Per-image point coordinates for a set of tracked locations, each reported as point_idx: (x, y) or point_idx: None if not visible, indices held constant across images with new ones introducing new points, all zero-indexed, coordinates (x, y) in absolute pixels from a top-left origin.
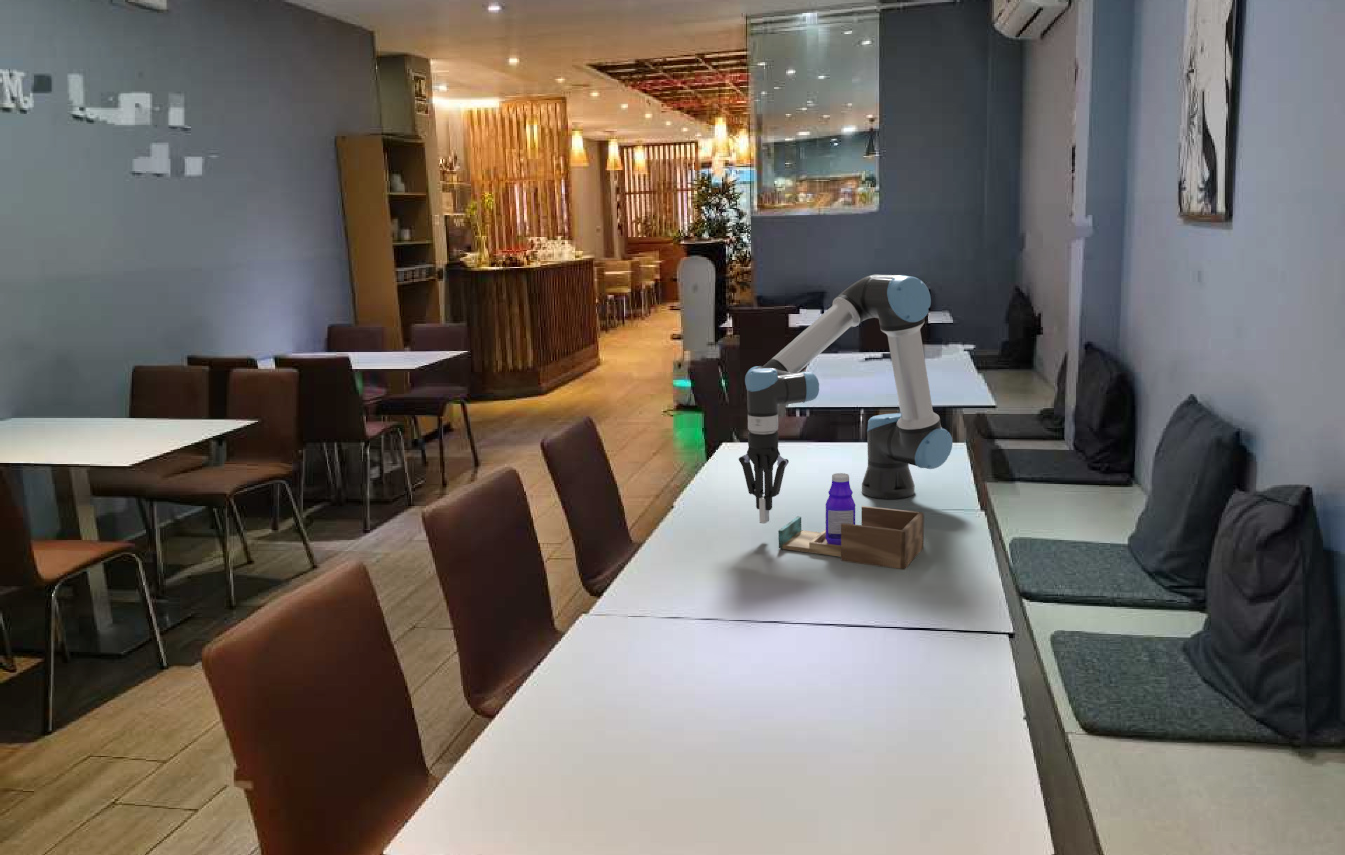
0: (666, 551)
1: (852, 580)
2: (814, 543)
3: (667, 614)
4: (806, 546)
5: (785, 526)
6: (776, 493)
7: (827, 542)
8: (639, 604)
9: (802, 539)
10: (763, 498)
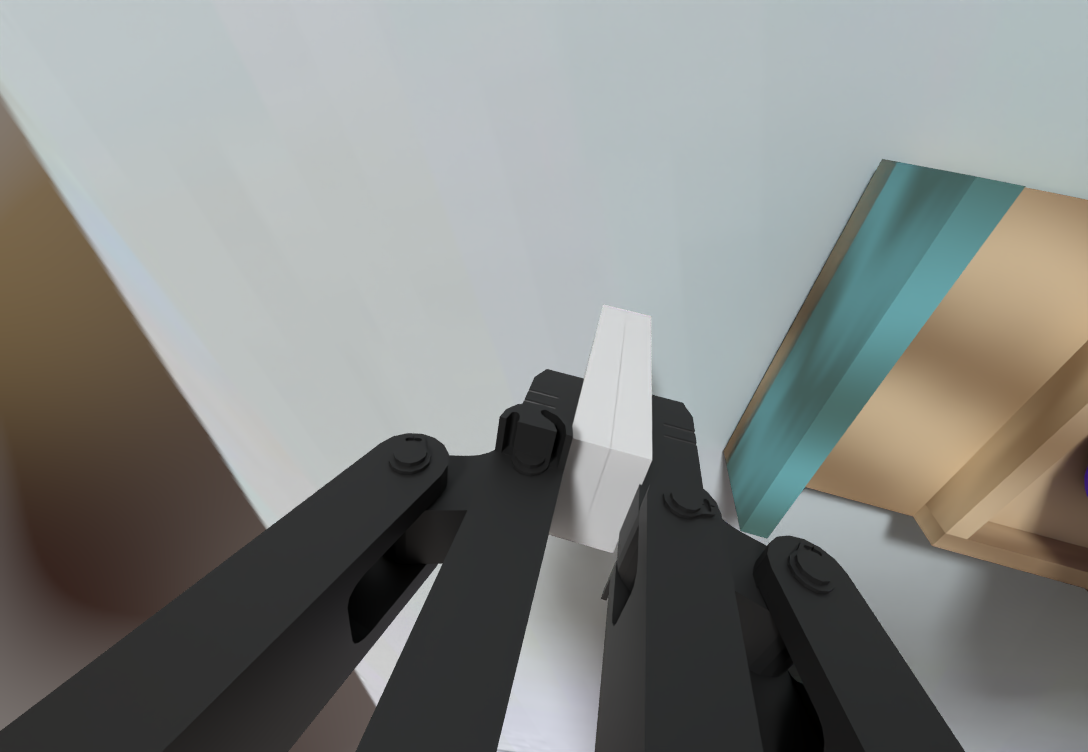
0: (282, 472)
1: (1033, 712)
2: (967, 553)
3: (502, 745)
4: (901, 492)
5: (796, 467)
6: (795, 668)
7: (1085, 485)
8: None
9: (897, 385)
10: (596, 540)
